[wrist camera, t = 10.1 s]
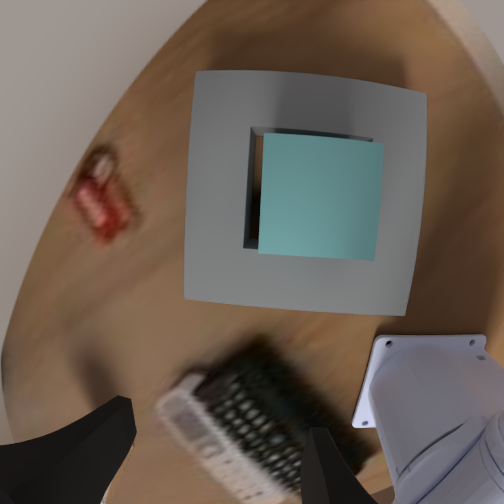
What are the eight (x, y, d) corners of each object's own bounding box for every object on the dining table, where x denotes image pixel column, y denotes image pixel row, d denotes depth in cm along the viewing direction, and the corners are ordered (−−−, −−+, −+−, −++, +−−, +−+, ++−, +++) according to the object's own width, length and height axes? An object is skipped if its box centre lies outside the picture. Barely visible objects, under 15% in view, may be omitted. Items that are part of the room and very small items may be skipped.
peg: (341, 159, 17) (383, 143, 10) (337, 228, 18) (374, 261, 10) (272, 154, 18) (264, 132, 10) (269, 223, 19) (257, 253, 11)
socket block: (406, 105, 16) (426, 93, 13) (389, 297, 19) (404, 315, 16) (208, 86, 17) (195, 71, 14) (198, 282, 20) (184, 298, 17)
